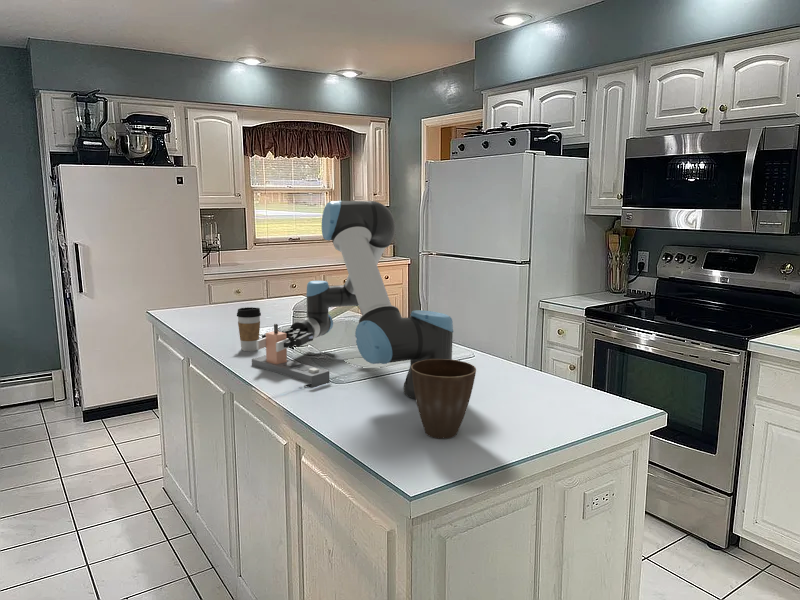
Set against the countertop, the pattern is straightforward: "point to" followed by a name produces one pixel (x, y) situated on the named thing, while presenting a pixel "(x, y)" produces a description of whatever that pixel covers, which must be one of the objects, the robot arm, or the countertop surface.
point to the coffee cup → (249, 327)
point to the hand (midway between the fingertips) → (267, 346)
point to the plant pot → (442, 394)
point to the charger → (271, 347)
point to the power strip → (295, 371)
